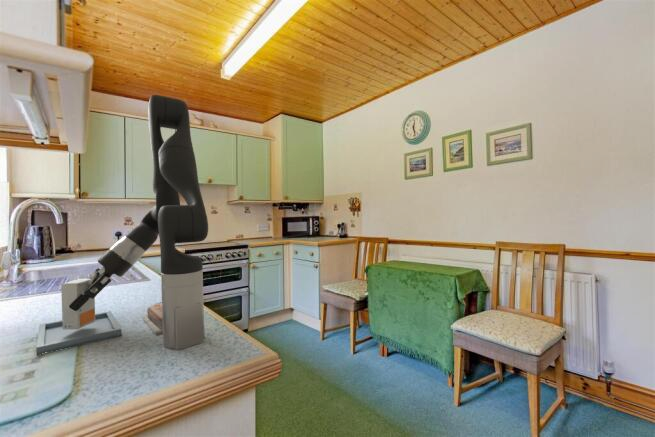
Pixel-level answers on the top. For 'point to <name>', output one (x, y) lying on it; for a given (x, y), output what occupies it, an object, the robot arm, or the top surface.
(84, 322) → the skincare box
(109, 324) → the tray
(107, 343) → the top surface
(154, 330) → the packaged product
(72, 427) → the top surface
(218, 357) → the top surface
